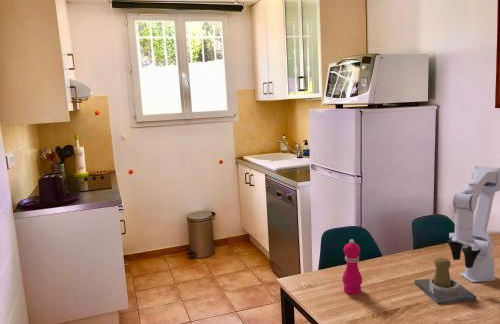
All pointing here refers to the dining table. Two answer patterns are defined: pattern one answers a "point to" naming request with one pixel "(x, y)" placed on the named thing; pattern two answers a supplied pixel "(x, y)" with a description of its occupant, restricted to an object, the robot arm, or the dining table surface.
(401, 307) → the dining table surface
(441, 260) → the cork
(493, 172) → the robot arm
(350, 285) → the pepper mill
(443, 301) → the plate
